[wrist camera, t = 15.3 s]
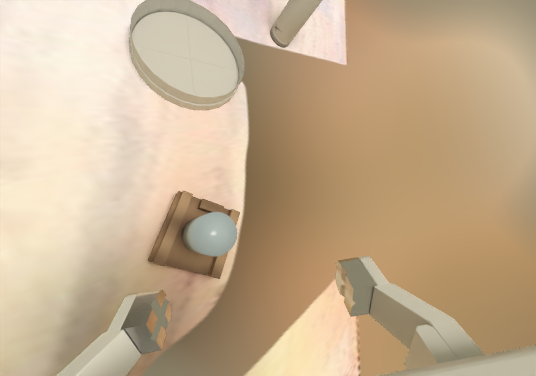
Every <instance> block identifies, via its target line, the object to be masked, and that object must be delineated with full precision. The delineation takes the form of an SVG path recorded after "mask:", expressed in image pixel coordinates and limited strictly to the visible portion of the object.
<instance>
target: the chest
mask: <svg viewBox="0 0 536 376" xmlns="http://www.w3.org/2000/svg"><path fill="white" fill-rule="evenodd" d="M192 195H193V194H191V193H188V192H186V191H183V192H180V191H178V193H177V194H176V196H175V198H174V201H173V203H172V205H171V208H170V210H169V212H168V215H167V217H166V219H165V222H164V224H163V226H162V229H161V231H160V233H159V236H158V238H157V240H156V243H155V245H154V247H153V250H152V252H151V254H150V257H149V259H148V261H150V262H153V263H155V264H159V265H163V266H164V265H166V266H171V267H175V268H179V269H183V270H187V271H192V272H196V273H200V274H204V275H208V276H210V277H214V278H218V279H220V276H221V273H222V270H223V267H224V263H225V260H226V257H227V254H228V252H227V253H225V254H223V255H221V256H208V255H204V254H200V253H196V252H192V251H190V250H188V249H187V248H186V247H185V246H184V244H183V242H182V238H181V234H182V230H183V228H184V226H185V225H186V223H188V222H189V221H190V220H192V219H194V218H197V217H200V216H203V215H205V214H208V213H211V212H222V213H224V214H226V215H228V216H229V217H230V218H231V219H232V220H233V221H234V223H235V225H236V224H237V221H238V218H239V214H240V212H238V211H235V210H233V209H232V210H227V209H225V208H224V207H223V206H221V205H218V204H216V203H213V202H210V201H208V200H205V199H202V200H201V199H198V198H195V197H193V196H192Z"/></svg>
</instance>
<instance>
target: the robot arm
mask: <svg viewBox="0 0 536 376" xmlns="http://www.w3.org/2000/svg"><path fill="white" fill-rule="evenodd" d="M336 268H337V270H338V271H337V272H336V284H337V287H338V290H339V292H340V294H341V295H342V296H344V297H345V300H344V303H345V305H346V308H347V310H348V312H349V314H350V316H351V317H352V316H359V315H365V314H369V315H370V316H371V317H372V318H374V319H375V320H376V321H377V322H378V323H379V324H381V325H382V326H383V327H384V328H385V329H386V330H387V331H389V332H390V333H391V334H392V335H393V336H394V337H396V338H397V339H398V340H399V341H400V342H401V343H403V344H404V345H405V346H406V347H407V348H408V349H409V351H408V354H407V357H406V360H405V363H404V364H405V366H406V368H407V370H402V371H396V372H391V373H386V374H381V375H375V376H536V345H534V346H529V347H523V348H518V349H513V350H507V351H502V352H496V353H492V354H486V355H485V354H484V353H483V352H482V351H481V349H480V348H479V347H478V346H477V345H476V344H475V343H474V341H473V340H472V339H471V338H470V337H469V336H468V335H467V333H466V332H465V331H464V330H463V329H462V328H461V327H460V325H459V324H458V323H457V322H456V321H455V320H454V319H453V318H451V317H450V316H448V315H446V314H445V313H443V312H441V311H440V310H438V309H436V308H434V307H433V306H430V305H429V304H427V303H426V302H424V301H422V300H420V299H419V298H417V297H415V296H414V295H412V294H410V293H408V292H407V291H405V290H403V289H402V288H400V287H398V286H396V285H395V284H393V283H392V284H389V282H388V281H387V280H386V278H385V277H384V276H383V274H382V273H381V271H380V270H379V269H378V267H377V266H376V264H375V263H374V262H373V260H372V259H371V257H369V256H364V257H358V258H351V259H345V260H340V261H337V262H336ZM165 296H166V294H165V292H164V291H163V290H160V291H152V292H145V293H139V294H132V295H128V296H126V297H125V298H124V300H123V302H122V304H121V306H120V308H119V310H118V311H117V313H116V315H115V317H114V319H113V321H112V323H111V325H110V326H109V328H108V330H107V332H105V333H102V334H101V335H100V336H99V337H98V338H97V339H96V340H95V341H94V342H92V343H91V344H90V345H89V346H88V347H87V348H86V349H85V350H84V351H83V352H81V353H80V354H79V355H78V356H77V357H76V358H75V359H74V360H73V361H72V362H71V363H69V364H68V365H67V366H66V367H65V368H64V369H63V370H62V371H61V372H60V373H58V374H57V375H56V376H126V375H127V374H128V373H129V371H130V370H131V369H132V367H133V366H134V365H135V363H136V362H137V361H138V360H139V358H140V357H141V354H145V353H150V352H155V351H159V350H162V347H163V344H164V340H165V337H166V332H165V328H166V327H167V326H168V324H169V323H170V319H171V312H172V309H171V304H170V302H169V301H168V300H166V299H165Z"/></svg>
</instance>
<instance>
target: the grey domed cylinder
mask: <svg viewBox="0 0 536 376" xmlns="http://www.w3.org/2000/svg"><path fill="white" fill-rule="evenodd" d="M181 238H182V242H183V244H184V246H185V247H186V248H187V249H188V250H190V251H192V252H196V253H200V254H204V255H208V256H221V255H223V254H225V253H227V252H228V251H229V250H230V249H231V248H232V247H233V245H234V244H235V241H236V238H237V229H236V225H235V223H234V221H233V220H232V219H231V218H230V217H229V216H228V215H226V214H224V213H222V212H211V213H208V214H205V215H203V216H200V217H197V218H194V219H192V220H190V221H189V222H188V223H186V225H185V226H184V228H183V230H182V234H181Z"/></svg>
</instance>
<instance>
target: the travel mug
mask: <svg viewBox="0 0 536 376" xmlns="http://www.w3.org/2000/svg"><path fill="white" fill-rule="evenodd" d="M321 1H322V0H289V2H288V3H287V5H286V6H285V8H284V10H283V11H282V13H281V14H280V16H279V17H278V19H277V21H276V22H275V24H274V25H273V27H272V29H271V37H272V39H273V40H274V42H275V43H276V44H278V45H279V46H281V47H286V46H288V45H289V43H290V42H291V41H292V39H293V38H294V37H295V35H296V34H297V33H298V32H299V30H300V29H301V28H302V26H303V25H304V24H305V22H306V21H307V20H308V18H309V17H310V16H311V15H312V13H313V12H314V11H315V9H316V8H317V7H318V5H319V4H320V3H321Z"/></svg>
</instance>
